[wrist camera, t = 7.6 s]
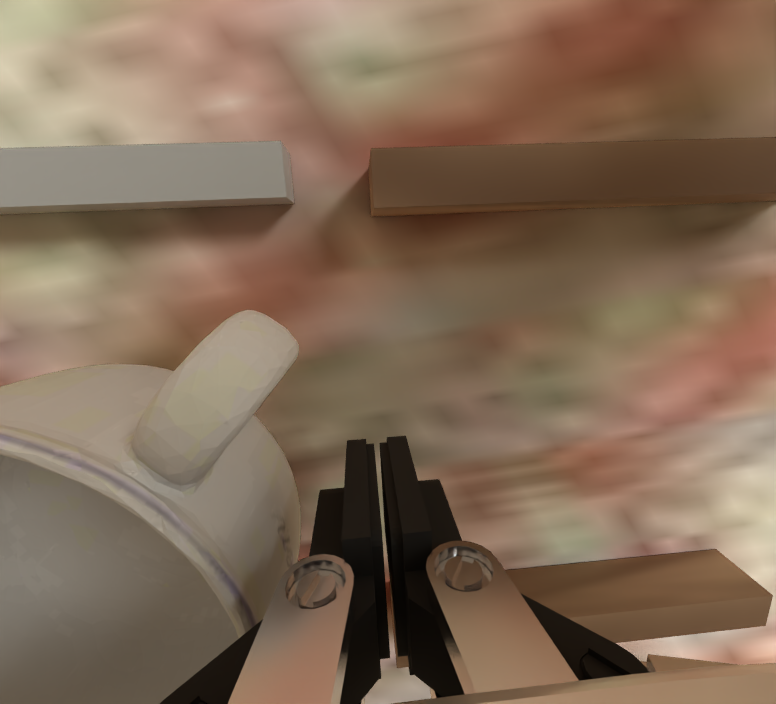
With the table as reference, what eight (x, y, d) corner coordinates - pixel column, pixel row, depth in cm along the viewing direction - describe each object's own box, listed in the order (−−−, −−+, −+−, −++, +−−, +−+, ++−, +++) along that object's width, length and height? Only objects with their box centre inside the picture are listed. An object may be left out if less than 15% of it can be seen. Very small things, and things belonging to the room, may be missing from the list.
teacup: (176, 632, 17) (18, 963, 9) (-52, 462, 14) (-554, 717, 6) (431, 432, 15) (507, 615, 8) (229, 205, 13) (30, 126, 5)
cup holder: (368, 168, 13) (371, 148, 10) (791, 155, 14) (884, 134, 11) (391, 609, 17) (396, 668, 15) (711, 576, 18) (765, 625, 16)
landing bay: (-297, 170, 11) (-392, 158, 10) (289, 154, 12) (281, 141, 11) (-79, 668, 16) (-122, 710, 15) (335, 625, 17) (333, 659, 16)
